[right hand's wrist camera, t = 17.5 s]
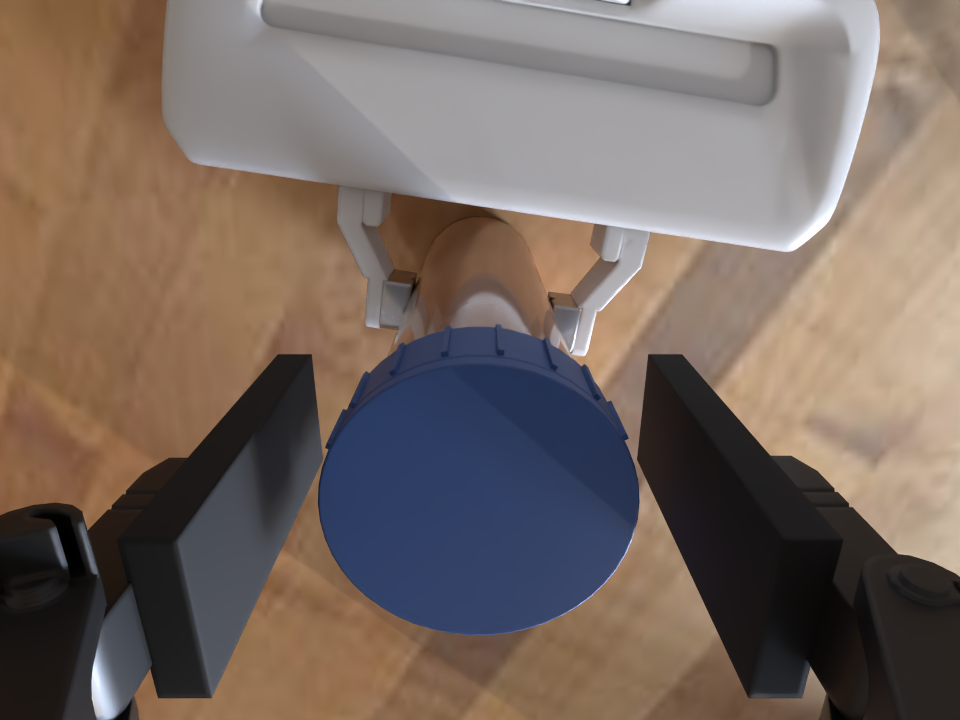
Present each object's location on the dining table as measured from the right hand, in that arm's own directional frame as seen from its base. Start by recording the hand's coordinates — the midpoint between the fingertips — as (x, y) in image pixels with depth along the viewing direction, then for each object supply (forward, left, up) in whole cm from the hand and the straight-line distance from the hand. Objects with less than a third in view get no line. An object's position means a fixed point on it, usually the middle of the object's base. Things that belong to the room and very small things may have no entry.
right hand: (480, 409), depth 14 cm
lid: (0, 0, +4) cm, 4 cm away
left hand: (-1, +1, -8) cm, 8 cm away
